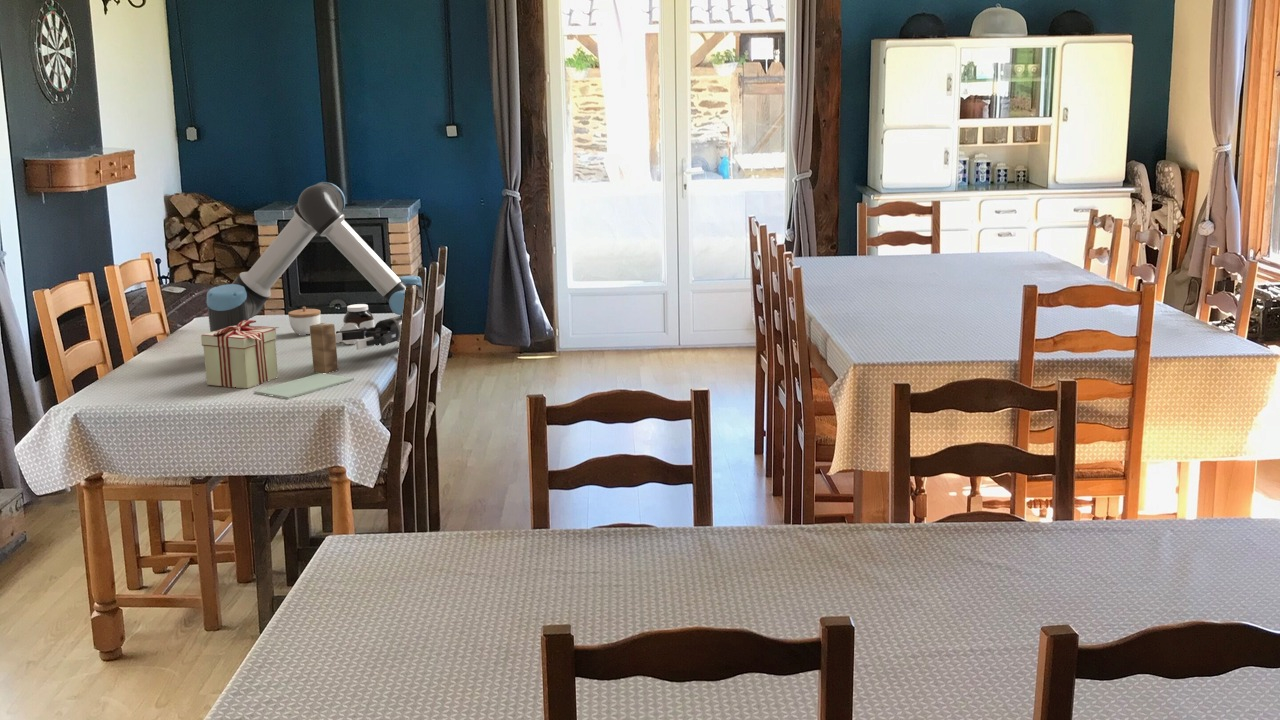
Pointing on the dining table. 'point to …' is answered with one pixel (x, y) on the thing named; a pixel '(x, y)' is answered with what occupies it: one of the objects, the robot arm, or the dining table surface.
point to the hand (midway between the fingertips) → (341, 343)
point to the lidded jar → (304, 320)
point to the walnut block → (323, 348)
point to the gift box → (240, 355)
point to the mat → (304, 385)
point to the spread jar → (357, 319)
